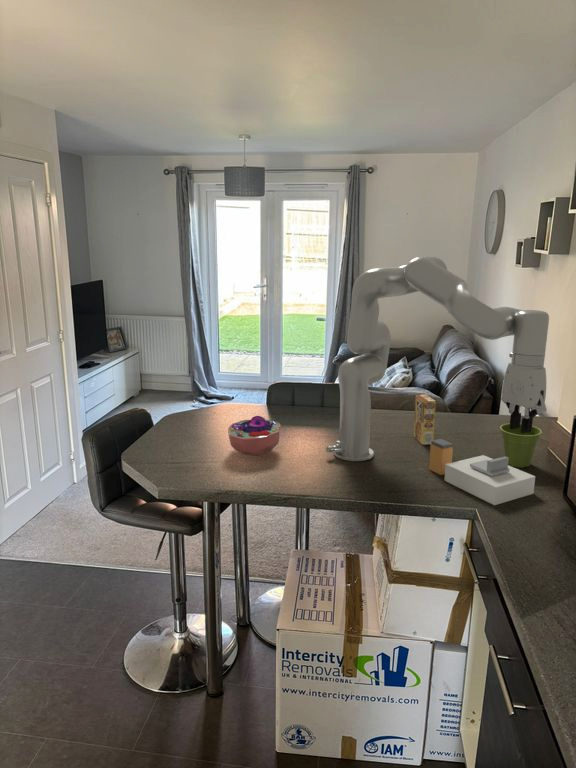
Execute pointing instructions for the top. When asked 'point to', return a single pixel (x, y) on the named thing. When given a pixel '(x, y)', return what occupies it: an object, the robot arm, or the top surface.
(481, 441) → the top surface
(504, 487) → the socket
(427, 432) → the candy box
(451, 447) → the tan boxy piece
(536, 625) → the top surface
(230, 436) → the cell model
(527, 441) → the plant pot
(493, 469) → the grey block
